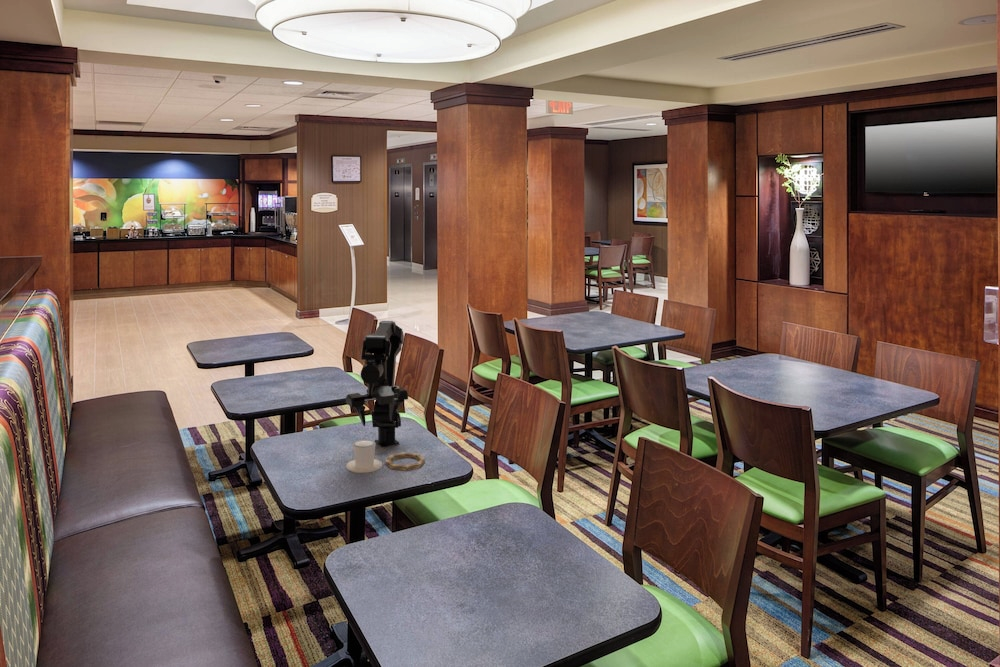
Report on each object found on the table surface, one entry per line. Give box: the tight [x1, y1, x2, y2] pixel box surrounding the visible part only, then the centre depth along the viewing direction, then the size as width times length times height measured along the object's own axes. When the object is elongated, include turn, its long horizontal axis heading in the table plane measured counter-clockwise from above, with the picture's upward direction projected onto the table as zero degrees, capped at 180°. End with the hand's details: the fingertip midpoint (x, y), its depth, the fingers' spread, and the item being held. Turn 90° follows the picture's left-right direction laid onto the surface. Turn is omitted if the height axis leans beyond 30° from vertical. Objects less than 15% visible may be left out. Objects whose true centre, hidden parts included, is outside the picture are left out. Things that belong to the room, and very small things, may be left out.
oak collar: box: [385, 451, 426, 472], centre depth 225 cm, size 11×11×1 cm
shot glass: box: [352, 439, 376, 468], centre depth 221 cm, size 7×7×7 cm
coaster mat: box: [345, 458, 383, 474], centre depth 222 cm, size 11×11×1 cm
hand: (377, 423), depth 225 cm, fingers open, 9 cm apart
